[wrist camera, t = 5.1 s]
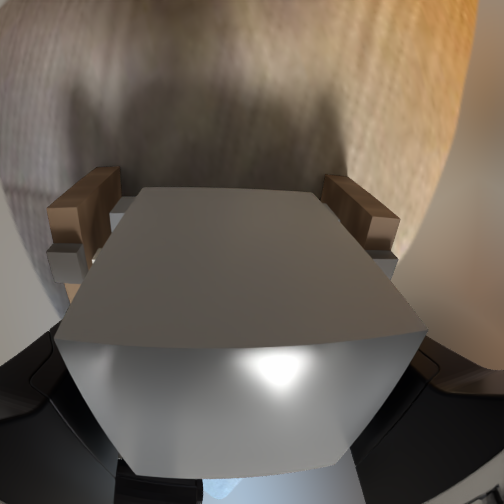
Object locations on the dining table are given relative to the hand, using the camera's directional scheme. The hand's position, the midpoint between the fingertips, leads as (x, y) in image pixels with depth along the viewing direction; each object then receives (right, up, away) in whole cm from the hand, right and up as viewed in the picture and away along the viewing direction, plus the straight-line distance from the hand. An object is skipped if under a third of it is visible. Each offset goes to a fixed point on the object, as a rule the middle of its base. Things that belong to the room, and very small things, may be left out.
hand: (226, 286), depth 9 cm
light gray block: (0, +1, +1) cm, 1 cm away
